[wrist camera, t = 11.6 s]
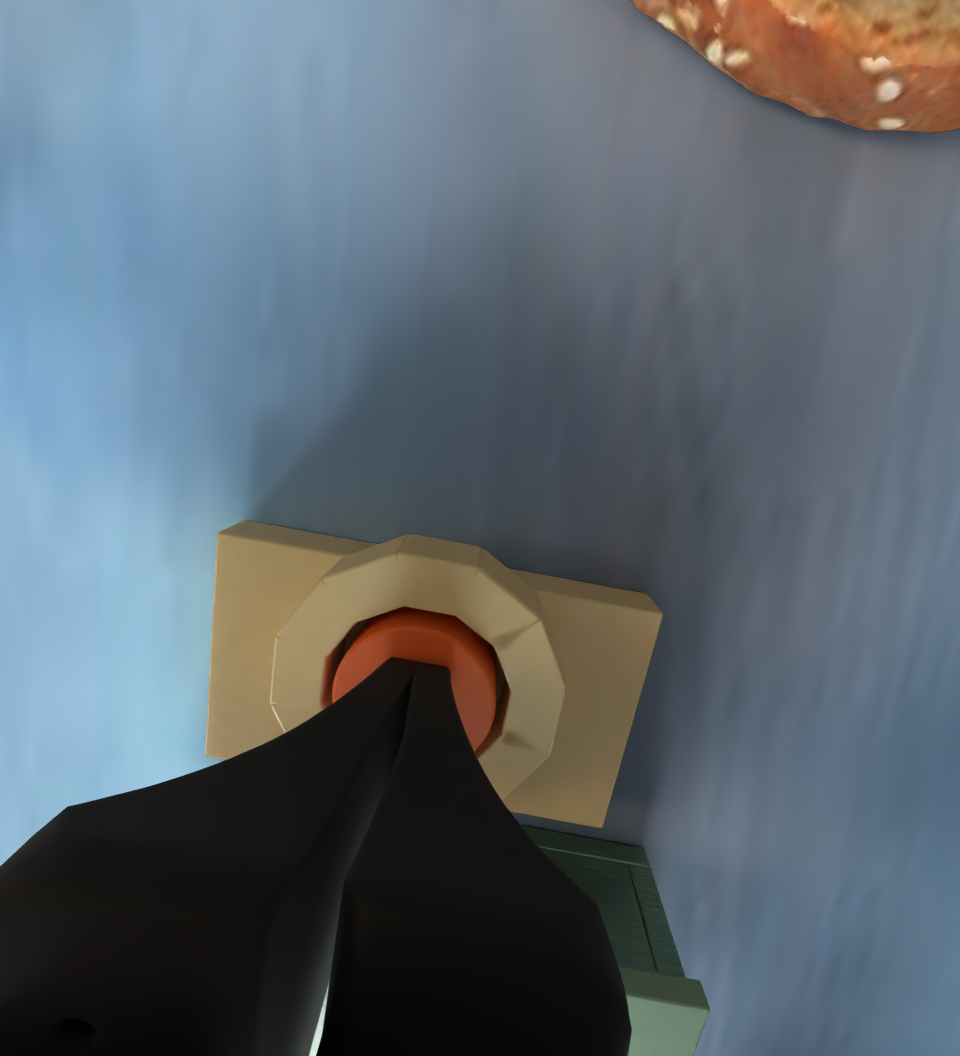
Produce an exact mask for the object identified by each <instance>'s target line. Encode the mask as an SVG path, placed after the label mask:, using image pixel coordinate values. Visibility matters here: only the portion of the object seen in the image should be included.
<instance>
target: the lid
mask: <svg viewBox="0 0 960 1056" xmlns="http://www.w3.org/2000/svg"><path fill="white" fill-rule="evenodd" d="M619 970H620V973H621V977H622V981H623V985H624V988H625V993H626V998H627V1003H628V1009H629V1017H630V1022H631V1027H632V1034H631V1040H630V1047H629V1053H628V1056H693V1054H694V1051H695V1049H696V1046H697V1043H698V1041H699V1038H700V1035H701V1033H702V1030H703V1027H704V1025H705V1022H706V1020H707V1017H708V1014H709V1012H710V1007H709V1004H708V1002H707V999H706V996H705V993H704V990H703V987H702V984H701V982H700V981H699V980H694V979H689V978H683V977H678V976H672V975H667V974H661V973H656V972H651V971H645V970H640V969H634V968H629V967H623V966H619ZM328 989H329V984H328V988H327V991H326V995H325V999H324V1002H323V1006H322V1010H321V1013H320V1017H319V1021H318V1024H317V1028H316V1032H315V1035H314V1039H313V1042H312V1046H311V1050H310V1054H309V1056H316V1054H317V1050H318V1047H319V1043H320V1040H321V1036H322V1031H323V1024H324V1017H325V1010H326V1003H327V996H328Z"/></svg>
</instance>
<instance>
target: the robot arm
mask: <svg viewBox="0 0 960 1056" xmlns="http://www.w3.org/2000/svg"><path fill="white" fill-rule="evenodd" d="M328 984H329V989H328V996H327V1003H326V1010H325V1017H324V1024H323V1031H322V1036H321V1040H320V1043H319V1047H318V1050H317V1054H316V1056H628V1053H629V1047H630V1040H631V1034H632V1027H631V1022H630V1017H629V1009H628V1003H627V998H626V993H625V988H624V985H623V981H622V977H621V973H620V970H619V966H618V963H617V960H616V957H615V954H614V951H613V948H612V945H611V942H610V939H609V936H608V933H607V930H606V927H605V925H604V922H603V919H602V916H601V913H600V911H599V908H598V906H597V904H596V903H595V902H594V901H593V900H592V899H591V898H590V897H589V896H588V895H587V894H586V893H585V892H584V891H583V890H582V889H580V888H579V887H578V886H577V885H576V884H575V883H574V882H573V881H572V880H571V879H570V878H569V877H568V876H567V875H566V874H564V873H563V872H562V871H561V870H560V869H559V868H558V867H557V866H556V865H555V864H554V863H553V862H552V861H551V860H550V859H549V858H548V857H547V856H546V855H545V854H544V852H543V851H542V850H541V849H540V848H539V847H538V846H537V845H536V844H535V842H534V841H533V840H532V839H531V838H530V837H529V836H528V835H527V833H526V832H525V831H524V830H523V828H522V827H521V826H520V824H519V823H518V822H517V820H516V819H515V818H514V816H513V815H512V814H511V812H510V811H509V810H508V808H507V807H506V806H505V804H504V803H503V801H502V800H501V798H500V797H499V795H498V794H497V792H496V790H495V789H494V787H493V786H492V784H491V782H490V781H489V779H488V777H487V775H486V774H485V772H484V770H483V768H482V766H481V764H480V763H479V761H478V758H477V756H476V754H475V752H474V750H473V748H472V746H471V743H470V741H469V739H468V737H467V734H466V732H465V729H464V726H463V724H462V721H461V718H460V715H459V712H458V709H457V706H456V702H455V698H454V694H453V690H452V685H451V672H450V671H449V669H448V668H447V667H446V666H440V665H435V664H429V663H424V662H418V661H413V660H407V659H402V658H396V657H391V658H389V659H387V660H386V661H385V662H384V663H382V664H381V665H380V666H379V667H378V668H377V669H376V670H375V671H373V672H372V673H371V674H370V675H369V676H367V677H366V678H365V679H364V680H363V681H361V682H360V683H359V684H358V685H356V686H355V687H354V688H352V689H351V690H350V691H349V692H347V693H346V694H345V695H343V696H342V697H341V698H339V699H338V700H337V701H335V702H334V703H332V704H331V705H329V706H328V707H326V708H325V709H323V710H322V711H320V712H319V713H317V714H316V715H314V716H313V717H311V718H310V719H308V720H307V721H305V722H304V723H302V724H300V725H299V726H297V727H295V728H294V729H292V730H290V731H288V732H286V733H284V734H282V735H280V736H278V737H276V738H275V739H273V740H271V741H268V742H266V743H264V744H262V745H260V746H258V747H255V748H253V749H251V750H248V751H246V752H244V753H241V754H239V755H237V756H234V757H232V758H230V759H227V760H225V761H223V762H220V763H218V764H215V765H212V766H210V767H207V768H204V769H201V770H199V771H196V772H193V773H190V774H187V775H184V776H181V777H178V778H175V779H172V780H168V781H165V782H162V783H159V784H155V785H152V786H149V787H145V788H142V789H138V790H134V791H130V792H126V793H122V794H118V795H114V796H110V797H106V798H102V799H98V800H94V801H90V802H86V803H82V804H77V805H73V806H68V807H67V808H65V809H64V810H63V811H62V812H61V813H59V814H58V815H57V816H56V817H55V818H53V819H52V820H51V821H50V822H49V823H47V824H46V825H45V826H44V827H43V828H42V829H40V830H39V831H38V832H37V833H36V834H34V835H33V836H32V837H31V838H30V839H29V840H28V841H27V842H26V843H25V844H24V845H23V846H22V847H21V848H19V849H18V850H17V851H16V852H15V853H14V854H13V855H12V856H11V857H10V858H9V859H8V860H7V861H6V862H5V863H4V864H2V865H1V866H0V1056H309V1054H310V1050H311V1046H312V1042H313V1039H314V1035H315V1032H316V1028H317V1024H318V1021H319V1017H320V1013H321V1010H322V1006H323V1002H324V999H325V995H326V991H327V988H328Z"/></svg>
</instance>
